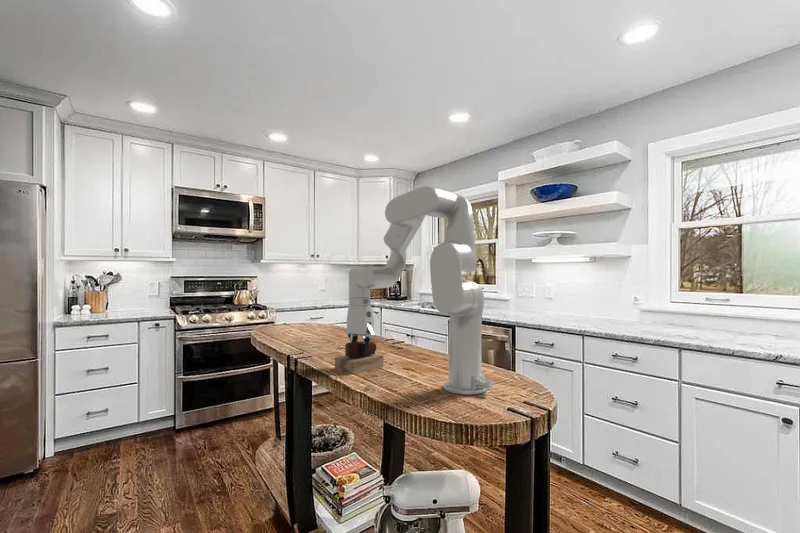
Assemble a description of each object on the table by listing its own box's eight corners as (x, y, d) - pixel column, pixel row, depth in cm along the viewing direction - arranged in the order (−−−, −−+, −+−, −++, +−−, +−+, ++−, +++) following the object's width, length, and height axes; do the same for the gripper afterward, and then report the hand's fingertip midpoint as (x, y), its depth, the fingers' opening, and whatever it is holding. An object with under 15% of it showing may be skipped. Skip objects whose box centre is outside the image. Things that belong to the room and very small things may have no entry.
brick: (350, 358, 139) (350, 344, 139) (345, 356, 142) (345, 342, 142) (376, 354, 146) (376, 341, 146) (370, 352, 149) (370, 339, 149)
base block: (383, 366, 145) (383, 355, 145) (353, 374, 135) (353, 362, 135) (364, 362, 152) (364, 351, 152) (334, 369, 142) (334, 357, 142)
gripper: (383, 302, 141) (384, 355, 141) (352, 300, 152) (352, 349, 152) (367, 304, 135) (368, 358, 135) (336, 302, 147) (336, 352, 147)
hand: (359, 353), depth 144 cm, fingers closed on brick, 4 cm apart
